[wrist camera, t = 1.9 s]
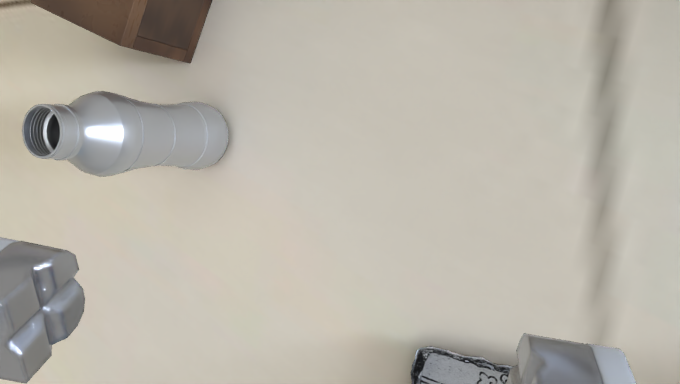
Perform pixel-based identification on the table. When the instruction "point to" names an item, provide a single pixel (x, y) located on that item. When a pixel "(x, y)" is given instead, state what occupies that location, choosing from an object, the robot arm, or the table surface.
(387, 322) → the table surface
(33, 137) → the plastic bottle
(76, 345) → the table surface
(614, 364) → the robot arm
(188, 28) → the dark wooden box
